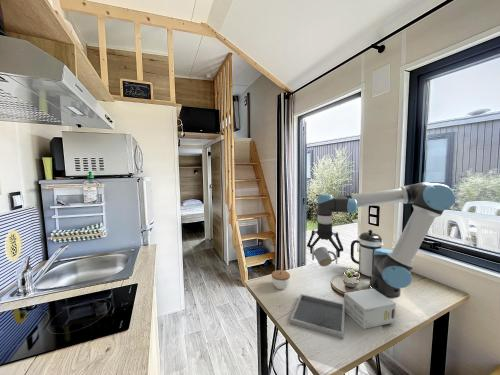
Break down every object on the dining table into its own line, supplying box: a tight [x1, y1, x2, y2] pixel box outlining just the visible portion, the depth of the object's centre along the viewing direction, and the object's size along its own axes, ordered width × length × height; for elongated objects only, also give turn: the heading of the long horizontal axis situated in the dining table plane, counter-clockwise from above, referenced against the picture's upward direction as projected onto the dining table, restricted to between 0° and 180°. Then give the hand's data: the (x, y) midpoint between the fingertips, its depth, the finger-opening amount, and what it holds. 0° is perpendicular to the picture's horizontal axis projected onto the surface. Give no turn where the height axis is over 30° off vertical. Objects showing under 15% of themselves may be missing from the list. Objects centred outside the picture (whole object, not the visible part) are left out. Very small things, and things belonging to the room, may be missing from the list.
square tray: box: [289, 293, 346, 340], centre depth 101 cm, size 22×22×2 cm
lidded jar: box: [271, 269, 291, 290], centre depth 127 cm, size 11×11×9 cm
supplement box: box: [343, 288, 396, 330], centre depth 100 cm, size 17×13×9 cm
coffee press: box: [350, 229, 384, 278], centre depth 139 cm, size 17×16×30 cm
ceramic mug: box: [314, 246, 336, 267], centre depth 118 cm, size 11×8×8 cm
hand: (324, 261), depth 119 cm, fingers closed on ceramic mug, 12 cm apart
